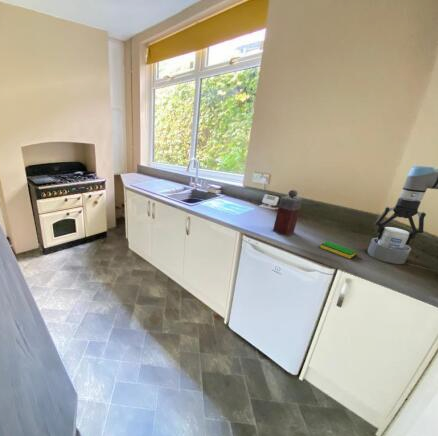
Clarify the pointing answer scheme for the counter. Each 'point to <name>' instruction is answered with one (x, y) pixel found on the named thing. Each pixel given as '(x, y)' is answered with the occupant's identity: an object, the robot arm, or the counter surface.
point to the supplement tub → (393, 238)
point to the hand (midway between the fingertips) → (392, 241)
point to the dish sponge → (338, 249)
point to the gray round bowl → (388, 253)
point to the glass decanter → (287, 213)
